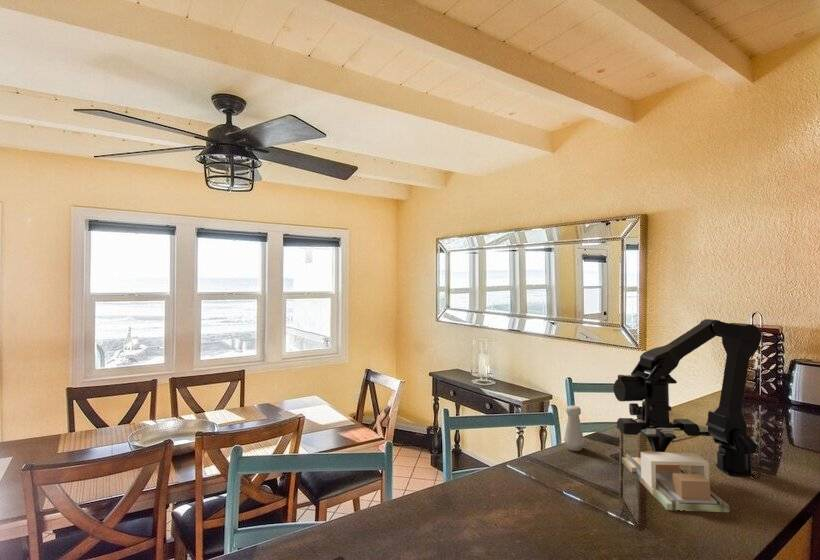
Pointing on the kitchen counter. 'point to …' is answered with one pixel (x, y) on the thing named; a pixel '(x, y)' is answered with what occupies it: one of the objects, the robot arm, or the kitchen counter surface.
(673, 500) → the track deck
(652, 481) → the tunnel
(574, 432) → the salt shaker
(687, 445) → the kitchen counter surface
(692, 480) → the sled
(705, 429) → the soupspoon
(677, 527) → the kitchen counter surface
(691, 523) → the kitchen counter surface
